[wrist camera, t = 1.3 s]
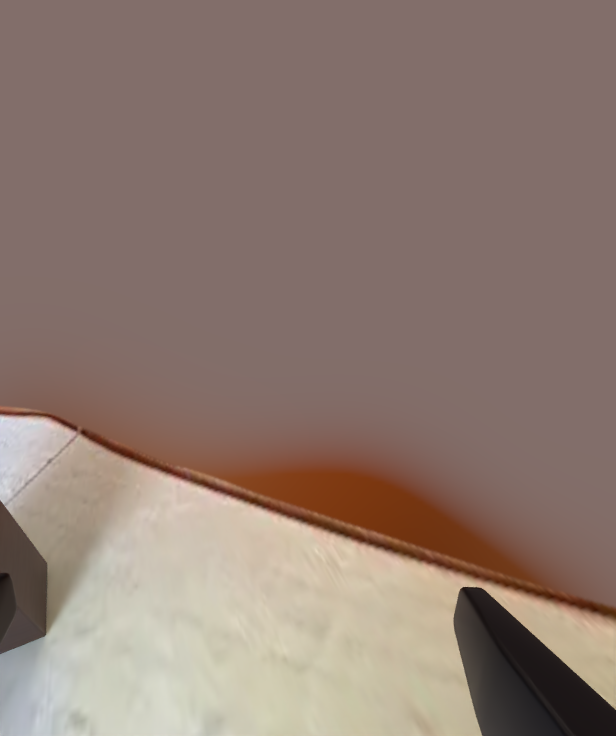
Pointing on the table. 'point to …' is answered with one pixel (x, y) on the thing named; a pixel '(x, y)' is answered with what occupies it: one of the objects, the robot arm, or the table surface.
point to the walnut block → (23, 583)
